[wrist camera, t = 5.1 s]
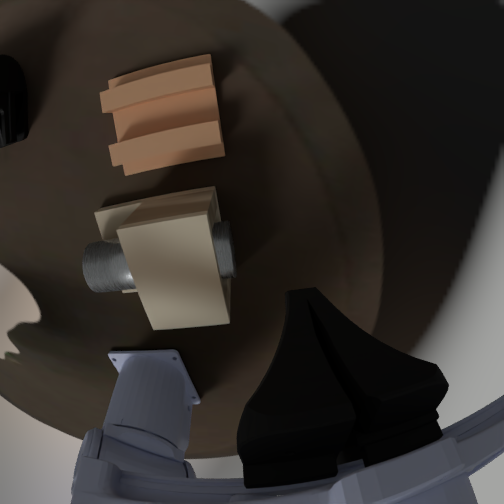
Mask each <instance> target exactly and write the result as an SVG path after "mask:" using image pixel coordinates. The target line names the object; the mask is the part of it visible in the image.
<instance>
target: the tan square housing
mask: <svg viewBox="0 0 504 504" xmlns="http://www.w3.org/2000/svg"><path fill="white" fill-rule="evenodd" d="M95 216H96V220H97V223H98V226H99V229H100V232H101V235H102V238H103V241H104V240H109V239H115V238H119V240H120V243H121V246H122V249H123V252H124V255H125V258H126V261H127V264H128V267H129V270H130V272H131V275H132V278H133V281H134V283H135V286H136V288H137V289H129V290H122V292H123V293H128V292H138V294H139V296H140V299H141V301H142V304H143V306H144V309H145V311H146V313H147V316H148V318H149V320H150V323H151V325H152V327H153V330H162V329H176V328H188V327H200V326H210V325H220V324H229V323H230V294H231V278H227V279H221V274H220V269H219V264H218V260H217V255H216V250H215V245H214V240H213V235H212V229H213V224H214V223H215V222H221V217H220V211H219V205H218V200H217V194H216V188H215V186H211V187H205V188H198V189H193V190H187V191H181V192H176V193H170V194H165V195H160V196H154V197H149V198H144V199H140V200H135V201H130V202H126V203H121V204H117V205H112V206H108V207H104V208H100V209H99V210H97V211H96V212H95Z"/></svg>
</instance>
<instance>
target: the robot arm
mask: <svg viewBox="0 0 504 504" xmlns="http://www.w3.org/2000/svg"><path fill="white" fill-rule="evenodd" d="M285 303H286V316H285V323H284V327H283V331H282V335H281V339H280V342H279V345H278V348H277V350H276V353H275V356H274V358H273V360H272V362H271V365H270V367H269V369H268V371H267V373H266V374H265V376H264V378H263V380H262V381H261V383H260V385H259V386H258V388H257V390H256V391H255V392H254V394H253V395H252V397H251V398H250V399H249V401H248V402H247V404H246V405H245V408H244V411H243V413H242V416H241V419H240V423H239V426H238V431H237V452H238V454H239V456H240V459H241V461H242V463H243V476H244V478H231V479H203V478H196V475H195V472H194V470H193V468H192V466H191V464H190V463H189V462H187V461H185V460H184V453H185V451H186V449H187V447H188V444H189V435H190V424H191V413H192V404H199V403H200V401H201V400H200V398H199V396H198V394H197V392H196V389H195V387H194V385H193V383H192V381H191V379H190V377H189V375H188V372H187V370H186V368H185V366H184V364H183V361H182V359H181V357H180V354H179V352H178V351H177V350H173V349H172V350H148V351H110V352H109V354H108V356H109V358H110V359H111V361H112V363H113V364H114V366H115V367H116V369H117V370H118V372H119V376H118V379H117V382H116V385H115V388H114V392H113V395H112V398H111V401H110V404H109V408H108V411H107V414H106V418H105V421H104V424H103V428H102V429H101V430H100V429H98V428H93V429H91V430H88V431H87V433H86V435H85V437H84V440H83V442H82V445H81V448H80V451H79V454H78V458H77V462H76V466H75V471H74V477H73V479H74V480H73V484H72V488H71V493H72V500H71V504H478V503H477V500H476V497H475V494H474V491H473V488H472V486H471V483H470V480H469V478H468V477H469V476H470V475H472V474H473V473H475V472H476V471H478V470H479V469H481V468H482V467H484V466H485V465H487V464H488V463H490V462H491V461H492V460H494V459H495V458H497V457H498V456H499V455H501V454H502V453H503V452H504V395H503V396H501V397H500V398H498V399H497V400H495V401H494V402H492V403H490V404H489V405H487V406H485V407H484V408H482V409H481V410H478V411H477V412H475V413H473V414H471V415H470V416H468V417H466V418H464V419H462V420H460V421H458V422H457V423H454V424H452V425H451V426H448V427H446V428H444V429H442V430H441V429H440V426H439V424H438V422H437V419H438V418H439V414H438V412H437V411H436V408H437V407H438V406H439V404H440V403H441V401H442V400H443V398H444V397H445V395H446V393H447V391H448V387H449V384H448V382H447V381H446V379H445V377H444V375H443V373H442V372H441V370H440V369H439V367H438V366H437V365H436V364H434V363H430V362H428V361H424V360H421V359H418V358H415V357H412V356H410V355H408V354H405V353H402V352H400V351H398V350H396V349H394V348H392V347H390V346H388V345H386V344H384V343H383V342H381V341H379V340H377V339H376V338H374V337H373V336H371V335H370V334H368V333H366V332H365V331H363V330H362V329H361V328H359V327H358V326H357V325H356V324H354V323H353V322H352V321H351V320H349V319H348V318H347V317H346V316H345V315H344V314H343V313H341V312H340V311H339V310H338V309H337V308H336V307H335V306H334V305H333V304H332V303H331V302H330V301H329V300H328V299H327V298H326V297H325V296H324V295H323V294H322V293H321V292H320V291H319V290H318V289H317V288H316V287H313V288H306V289H298V290H290V291H287V292H286V293H285ZM175 357H176V358H175ZM278 495H281V496H278Z"/></svg>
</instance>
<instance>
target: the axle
mask: <svg viewBox="0 0 504 504" xmlns="http://www.w3.org/2000/svg"><path fill="white" fill-rule="evenodd" d="M212 235H213V240H214V245H215V250H216V255H217V260H218V264H219V269H220V274H221V279H227V278H235V277H236V275H237V271H236V258H235V249H234V242H233V236H232V230H231V226H230V222H229V221H222V222H215V223H214V224H213V229H212ZM82 265H83V273H84V277H85V280H86V282H87V284H88V286H89V287H90V288H91V289H92V290H93V291H94V292H109V291H119V290H129V289H137V288H136V286H135V283H134V281H133V278H132V275H131V272H130V270H129V267H128V264H127V261H126V258H125V255H124V252H123V249H122V246H121V243H120V240H119V238H115V239H109V240H104V241H98V242H93V243H90V244H88V245H87V247H86V248H85V251H84V254H83V260H82Z"/></svg>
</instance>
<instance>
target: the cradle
mask: <svg viewBox="0 0 504 504" xmlns="http://www.w3.org/2000/svg"><path fill="white" fill-rule="evenodd" d="M108 82H109V90H106V91H103V92H101V93H100V98H101V105H102V112H103V113H113V117H114V122H115V128H116V134H117V139H118V143H116V144H112V145H109V150H110V155H111V160H112V164H113V166H117V165H121V164H123V168H124V172H125V176H127V175H131V174H135V173H139V172H143V171H148V170H152V169H157V168H162V167H166V166H171V165H176V164H181V163H187V162H192V161H198V160H204V159H209V158H216V157H222V156H225V150H224V143H223V136H222V129H221V123H220V116H219V109H218V102H217V95H216V88H215V81H214V74H213V67H212V60H211V55H210V54H207V55H201V56H196V57H191V58H186V59H181V60H177V61H173V62H168V63H164V64H160V65H157V66H153V67H149V68H146V69H142V70H139V71H136V72H132V73H129V74H126V75H123V76H120V77H117V78H114V79H112V80H109V81H108Z"/></svg>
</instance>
